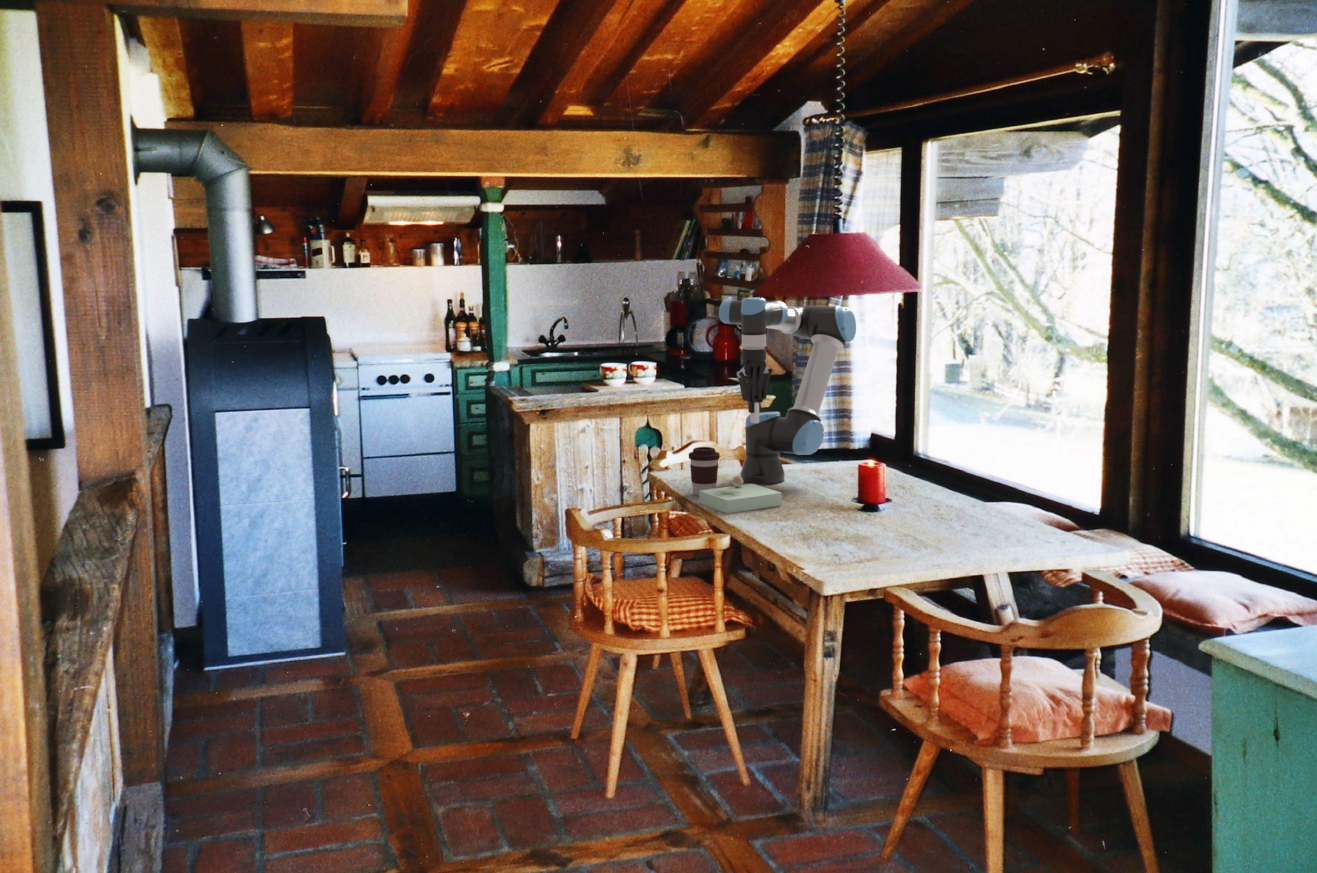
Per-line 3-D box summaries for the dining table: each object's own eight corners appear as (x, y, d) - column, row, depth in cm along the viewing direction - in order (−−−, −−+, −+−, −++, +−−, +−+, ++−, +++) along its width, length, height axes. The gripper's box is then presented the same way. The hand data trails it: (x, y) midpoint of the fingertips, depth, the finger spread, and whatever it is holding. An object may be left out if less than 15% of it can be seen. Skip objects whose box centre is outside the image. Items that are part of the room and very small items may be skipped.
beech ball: (739, 485, 363) (739, 474, 362) (745, 487, 360) (745, 476, 359) (730, 486, 361) (730, 475, 361) (736, 488, 358) (736, 477, 358)
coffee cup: (720, 491, 374) (720, 446, 371) (718, 497, 364) (718, 451, 361) (689, 490, 374) (689, 445, 372) (687, 497, 365) (687, 451, 362)
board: (752, 495, 366) (752, 483, 366) (781, 505, 353) (781, 492, 352) (699, 503, 357) (699, 490, 356) (727, 513, 343) (727, 500, 342)
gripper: (763, 345, 361) (764, 418, 366) (729, 348, 354) (730, 423, 359) (778, 347, 355) (778, 421, 359) (744, 350, 348) (745, 426, 353)
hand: (754, 422), depth 359 cm, fingers closed
